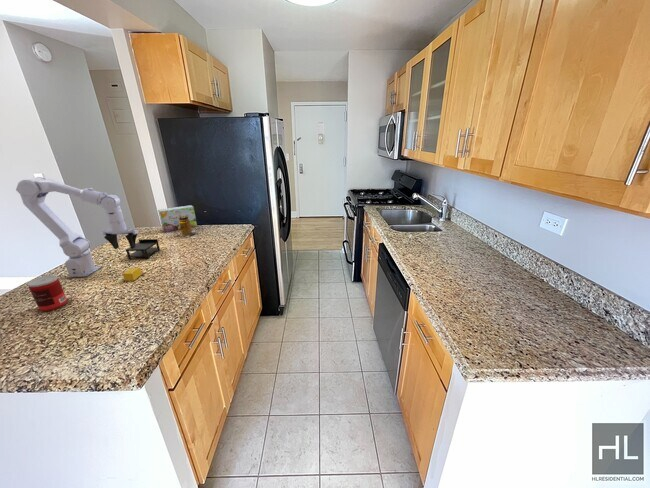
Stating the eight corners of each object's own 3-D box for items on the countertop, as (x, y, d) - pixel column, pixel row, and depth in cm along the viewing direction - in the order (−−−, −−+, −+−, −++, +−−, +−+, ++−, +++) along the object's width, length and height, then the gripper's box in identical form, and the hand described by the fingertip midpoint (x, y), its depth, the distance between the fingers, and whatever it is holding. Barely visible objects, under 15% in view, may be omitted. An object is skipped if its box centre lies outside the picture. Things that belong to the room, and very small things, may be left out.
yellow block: (134, 280, 115) (131, 273, 114) (124, 280, 115) (122, 273, 113) (142, 274, 120) (140, 267, 119) (133, 274, 120) (131, 267, 119)
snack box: (164, 232, 175) (159, 211, 170) (162, 230, 179) (157, 209, 174) (197, 226, 189) (193, 206, 183) (194, 224, 192) (191, 204, 187)
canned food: (66, 297, 102) (55, 272, 98) (69, 304, 98) (58, 279, 94) (38, 306, 97) (25, 280, 93) (41, 314, 92) (28, 287, 88)
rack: (148, 259, 136) (144, 247, 133) (128, 259, 135) (124, 247, 133) (160, 250, 147) (157, 239, 145) (142, 250, 147) (139, 239, 144)
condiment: (179, 235, 170) (175, 218, 165) (189, 231, 177) (185, 214, 173) (187, 237, 168) (183, 219, 163) (197, 232, 175) (194, 215, 170)
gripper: (138, 218, 124) (145, 244, 129) (106, 219, 123) (115, 245, 128) (128, 222, 117) (136, 250, 122) (95, 223, 116) (104, 251, 121)
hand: (125, 248), depth 125 cm, fingers open, 7 cm apart
